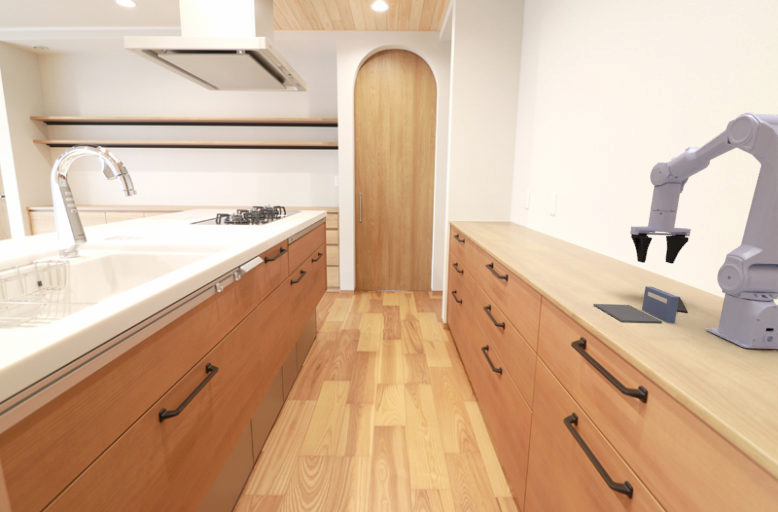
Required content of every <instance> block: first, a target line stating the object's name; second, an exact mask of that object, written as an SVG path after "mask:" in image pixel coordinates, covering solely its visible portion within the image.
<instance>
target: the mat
mask: <svg viewBox="0 0 778 512" xmlns="http://www.w3.org/2000/svg"><path fill="white" fill-rule="evenodd" d="M593 306H594V307H595V308H597V309H599V310H600V311H602V312H604V313H605V314H606V315H608V316H610V317H613V318H614V319H616V320H618V321H619V322H620V323H636V324H637V323H639V324H643V323H645V324H662V323H663V320H661V319H659V318H657V317H655V316H653V315H651V314H650V315H649V313H647V312H645V311H643V310H640V309H638V308H636V307H633V306H632V305H630V304H615V303H614V304H612V303H609V304H608V303H593Z"/></svg>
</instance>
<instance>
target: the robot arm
mask: <svg viewBox="0 0 778 512" xmlns="http://www.w3.org/2000/svg"><path fill="white" fill-rule="evenodd" d="M736 148H737V149H739V150H740V151H743V152H745V153H748V154H749V155H751V156H753V158H754V159H756V160H757V162H759V163H760V169H759V173H758V175H757V176H758V177H757V179H756V184H755V188H754V193H753V196H752V200H751V204H750V208H749V211H748V215H747V219H746V223H745V228H744V231H743V236H742V239H741V242H740V245H739V246H737V247H736V248H734V249H733V250H731V251H730V252H728V253H727V254H726V256H725V259H724V262H723V264H722V265H721V266H720V267H719V269H718V272H717V277H716V278H717V283H718V285H719V287H720V289H721V293H723V294H724V297H723V301H722V308H721V313H720V316H719V322H718V323H719V324H718V327H717V328H716V327H715V328H714V327H707V328H706V331H707V332H709V333H712V334H714V335H715V336H718V337H720V338H722V339H724V340H727V341H728V342H731V343H733V344H735V345H738V346H739V347H742V348H744V349H760V350H761V349H764V350H765V349H766V350H767V349H768V350H769V349H770V350H778V304H777V303H776V302H775V300H778V114H769V113H768V114H767V113H765V114H764V113H754V112H744V113H741V114H740V115H738V116H737V117H736V118H735V119H732V120H731V121H728V123H727V125H726V128H725V129H724V130H722V132H720V133H719V134H718V135H716V136H715V137H714V138H712V139H711V140H709V141H707V142H706V143H705V144H704V145H702V146H701V147H699V146H692V147H691V146H689V147H687V148H685V149H684V151H683V152H682V153H680V154H679V155H677V156H676V157H673V158H671V160H669V161H668V162H664V161H663V162H661V161H659V162H657V163H655V165H654V166H653V167H652V169H651V171H650V176H649V179H650V182H651V184H652V185H653V191H652V198H651V205H650V211H649V217H648V225H647V226H630V231H629V232H630V235H631V236H630V237H631V240H632V241H633V242H632V243H633V245H634V247H635V251H636V256H637V257H636V258H637V262H638V263H646V261H647V255H648V250H649V247H650V245H651V243H652V240H653V238H652V237H651V236H665V239H666V254H665V263H667V264H673V265H674V263H675V261H676V258H677V256H678V255H679V254H680V251H681V250H682V248H683V247H684V246H685V245H686V244H687V243H688V242H689V238H690V236H691V229H690V228H686V227H683V228H682V227H675V226H676V225H675V224H676V220H677V216H678V215H677V213H678V212H677V211H678V207H679V200H680V195H681V194H682V193H683V191H684V187H685V185H686V184H687V182H688V180H689V178H690V177H692V176H695V175H696V174H698V173H700V172H701V171H703V170H705V169H707V168H708V167H709V166H710V163H711V160H713V159H715V158H718V157H720V156H722V155H725V154H726V153H729V152H731V151H732V150H734V149H736Z"/></svg>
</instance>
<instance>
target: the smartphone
mask: <svg viewBox="0 0 778 512" xmlns="http://www.w3.org/2000/svg"><path fill="white" fill-rule="evenodd" d="M676 296H677V297H679V301H678V307H677V313H683V314H688V309H687V307H686V306H685V304H684V302H683V300H682V299H681V297H680V296H678V295H676Z"/></svg>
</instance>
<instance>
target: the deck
mask: <svg viewBox="0 0 778 512" xmlns="http://www.w3.org/2000/svg"><path fill="white" fill-rule="evenodd" d="M677 296H678V295H674V294H673V293H669V292H666V291H664V290H661V289H659V288H656V287H654V286H645V288H644V294H643V301H642V307H641V311H642V312H644V313H646V314H648V315H649V314H650V316H652V317H654V318H656V319H658V320H660V321H662V322H665V323H667V324H676V317H677V313H678V312H677V307H678V301H679V297H680V296H678V297H677Z"/></svg>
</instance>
